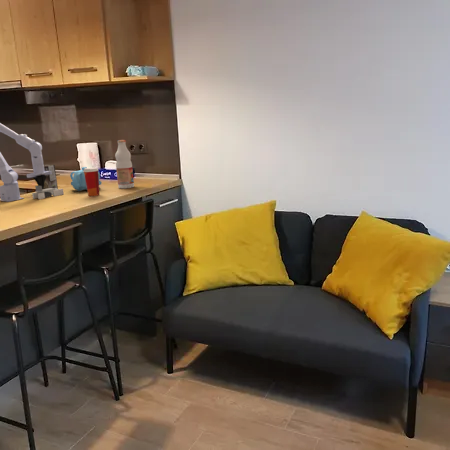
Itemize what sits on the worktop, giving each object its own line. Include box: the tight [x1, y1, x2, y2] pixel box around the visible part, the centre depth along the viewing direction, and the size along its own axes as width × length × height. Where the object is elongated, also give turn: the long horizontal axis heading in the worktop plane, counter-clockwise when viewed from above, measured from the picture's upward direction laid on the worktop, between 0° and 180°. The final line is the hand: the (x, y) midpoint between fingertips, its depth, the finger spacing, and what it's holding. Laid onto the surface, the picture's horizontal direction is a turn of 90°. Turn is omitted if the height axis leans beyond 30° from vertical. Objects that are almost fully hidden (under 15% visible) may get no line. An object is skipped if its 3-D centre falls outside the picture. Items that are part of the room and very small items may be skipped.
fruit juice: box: [114, 139, 135, 189], centre depth 276 cm, size 9×9×28 cm
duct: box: [31, 187, 65, 200], centre depth 261 cm, size 16×6×3 cm, turn 146°
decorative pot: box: [69, 166, 103, 192], centre depth 277 cm, size 16×16×14 cm
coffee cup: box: [83, 167, 100, 197], centre depth 256 cm, size 8×8×15 cm
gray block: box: [44, 192, 53, 199], centre depth 261 cm, size 4×4×2 cm
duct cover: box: [34, 185, 55, 192], centre depth 259 cm, size 9×5×3 cm, turn 146°
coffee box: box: [40, 164, 59, 189], centre depth 274 cm, size 9×6×16 cm
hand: (41, 189), depth 258 cm, fingers closed
